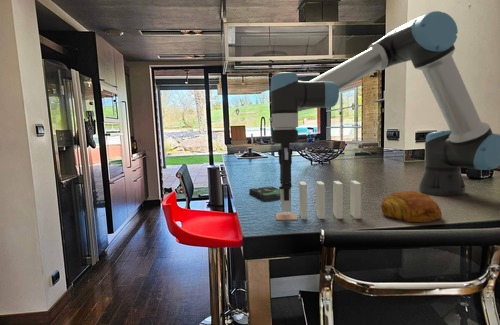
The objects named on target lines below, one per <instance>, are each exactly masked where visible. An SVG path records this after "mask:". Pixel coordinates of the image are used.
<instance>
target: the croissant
mask: <svg viewBox="0 0 500 325" xmlns="http://www.w3.org/2000/svg"><path fill="white" fill-rule="evenodd" d="M380 205H381V206H380V208H381V212H382V214H383V215H384V216H386V217H389V218H393V219H397V220H401V221H403V222H407V223H408V222H409V223H431V222H433V221H436V220H439V219H441V217H442V210H441V208H440V206H439V204H438V203H437V202H436V201H435V200H434V199H432V198H431V196H430V194H427V193H423V192H421V191H414V190H413V191H412V190H411V191H399V192H393V193H391V194H389V195H387V196H386V197H385V198H384V199H383V201H382V202H381V204H380Z"/></svg>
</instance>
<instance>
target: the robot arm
mask: <svg viewBox="0 0 500 325" xmlns="http://www.w3.org/2000/svg"><path fill="white" fill-rule="evenodd" d="M458 33H459V32H458V25H457V22H456V21H455V19H454V18H453V17H452V16H451V15H450V14H448V13H446V12H442V11H439V10H435V11H430V12H427V13H426V14H421V15H420V16H417V17H415V18H413V19H411V20H410V21H408V22H406V23H404V24H402V25H400V26H398V27H396V28H394V29H393V30H391V31H389V32H388V33H387V34H386V35H384V36H383V37H381V38H380V39H378V40H377V41H375V42H373V43H371V44H370V45H369V46H368V47H367V50H364V51H362V52H361V53H359V54H357V55H354V56H353V57H351V58H349V59H348V60H345V61H344V62H342V63H340V64H339V65H338V64H337V65H336V66H335V67H333V68H331V69H329V70H327V71H326V72H324V73H322V74H320V75H318V76H317V77H314V78H313V79H310V80H309V81H308V80H307V81H306V80H305V81H304V80H299V78H298V74H297V73H295V72H291V71H290V72H289V71H288V72H286V71H284V72H277V73H274V74H273V75H272V76H271V78H270V104H271V107H270V108H271V112H270V113H271V117H269V120H268V121H269V122H271V128H272V131H271V142H272V143H273V144H280V148H278V149H277V155H278V163H279V167H280V168H279V173H280V174H279V175H280V176H279V177H280V178H279V181H280V182H279V184H280V185H279V188H278V189H280V193H281V199H280V207H281V213H291V212H292V188H293V185H292V164H293V159H292V158H293V149H292V148H290V144H295V143H297V142H298V141H299V130H298V129H297V128H298V127H299V112H302V111H306V110H312V109H313V110H314V109H319V108H323V109H326V108H333V107H335V106H336V105H337V104H338V101H339V98H340V91H341V90H342V89H345V88H347V87H348V86H350V85H352V84H354V83H356V82H357V81H359V80H361V79H363V78H365V77H367V76H368V75H370V74H371V73H375V72H376V71H383V70H385V69H387V68H388V67H392V66H395V65H397V64H401V63H405V62H410V61H411V63H412V65H413V68H414V69H416V70H420V71H422V73H423V76H424V78H425V79H426V82H427V84H428V85H429V88H430V90H431V93H432V94H433V97H434V99H435V102H436V103H437V106H438V107H439V109H440V112H441V113H442V116H443V117H444V120H445V122H446V124H447V126H448V128H449V129H448V130H440V131H433V132H429V133H427V134H426V136H425V142H424V172H423V174H422V178H421V179H420V182H419V185H418V192H420V193H423V194H427V195H433V196H434V195H435V196H451V197H452V196H453V197H455V196H456V197H457V196H463V195H465V194H467V193H466V189H467V188H466V184H465V181H464V179H463V176H462V172H461V170H462V168H465V169H475V170H479V171H482V170H484V171H491V170H494V169H496V168H498V167H499V166H500V134H499V133H494V132H493V130H492V129H491V126H490V125H489V123H487V122H484V121H481V118H480V116H479V114H478V112H477V109H476V108H475V104H474V103H473V100H472V98H471V95H470V93H469V91H468V89H467V87H466V85H465V83H464V82H465V81H464V80H463V78H462V76H461V74H460V71H459V69H458V66H457V64H456V62H455V61H454V57H453V54H454V52H455V51H456V47H455V43H456V41H457V39H458V35H457V34H458ZM285 183H288V184H285Z"/></svg>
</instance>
